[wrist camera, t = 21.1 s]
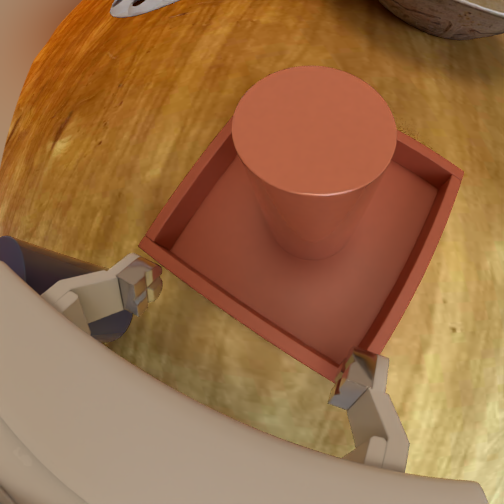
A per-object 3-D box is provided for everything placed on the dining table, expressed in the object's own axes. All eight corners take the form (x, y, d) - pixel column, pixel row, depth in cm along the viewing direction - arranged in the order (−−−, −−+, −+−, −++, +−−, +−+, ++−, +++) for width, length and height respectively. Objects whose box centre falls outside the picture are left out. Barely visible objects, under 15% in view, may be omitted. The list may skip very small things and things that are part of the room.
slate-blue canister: (95, 354, 20) (-11, 360, 10) (70, 291, 21) (-28, 271, 12) (146, 320, 20) (36, 313, 10) (116, 254, 21) (15, 213, 12)
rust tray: (345, 382, 17) (353, 394, 14) (158, 256, 20) (137, 246, 18) (447, 189, 18) (464, 171, 15) (274, 98, 22) (269, 73, 19)
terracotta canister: (300, 278, 18) (294, 232, 8) (251, 206, 20) (203, 110, 10) (373, 228, 18) (429, 142, 8) (321, 162, 19) (325, 48, 10)
